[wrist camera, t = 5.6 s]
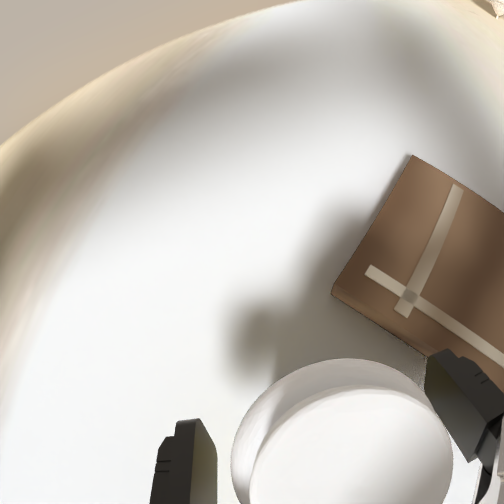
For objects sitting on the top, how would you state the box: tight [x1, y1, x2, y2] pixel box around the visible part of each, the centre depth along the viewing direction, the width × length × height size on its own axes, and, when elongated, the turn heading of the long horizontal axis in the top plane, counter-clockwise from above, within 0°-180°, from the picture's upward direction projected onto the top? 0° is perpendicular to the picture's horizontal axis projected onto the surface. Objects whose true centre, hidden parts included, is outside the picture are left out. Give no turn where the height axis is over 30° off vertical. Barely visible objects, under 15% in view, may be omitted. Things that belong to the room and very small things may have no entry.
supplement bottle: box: [231, 358, 453, 504], centre depth 9 cm, size 6×6×10 cm
